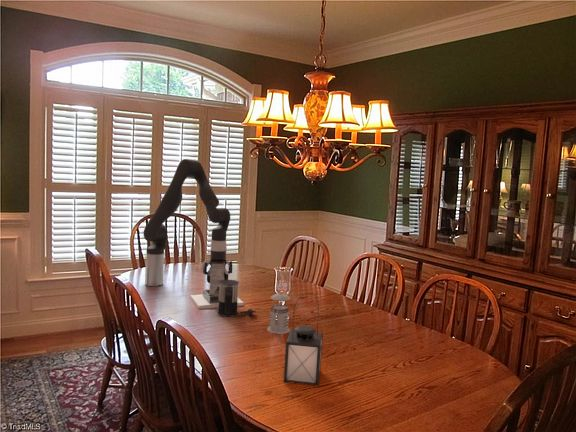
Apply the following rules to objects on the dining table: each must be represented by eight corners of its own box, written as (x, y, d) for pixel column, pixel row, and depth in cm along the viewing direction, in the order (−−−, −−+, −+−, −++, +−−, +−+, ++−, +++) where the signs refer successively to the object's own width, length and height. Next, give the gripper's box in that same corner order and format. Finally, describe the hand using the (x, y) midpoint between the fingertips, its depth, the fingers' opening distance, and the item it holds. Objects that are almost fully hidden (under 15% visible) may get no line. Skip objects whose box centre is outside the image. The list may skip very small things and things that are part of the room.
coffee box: (211, 289, 234) (213, 258, 232) (224, 290, 234) (226, 259, 232) (208, 295, 225) (210, 262, 223) (222, 295, 225) (224, 263, 223)
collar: (209, 303, 221) (209, 297, 221) (202, 295, 234) (202, 289, 233) (230, 302, 226) (231, 295, 225) (223, 294, 238) (223, 288, 238)
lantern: (283, 382, 148) (288, 296, 145) (287, 367, 159) (292, 287, 156) (318, 386, 147) (324, 299, 144) (320, 371, 158) (326, 290, 155)
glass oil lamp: (293, 327, 199) (296, 269, 196) (285, 336, 188) (289, 275, 185) (271, 324, 202) (274, 267, 199) (262, 333, 190) (265, 272, 188)
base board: (198, 308, 217) (198, 305, 217) (190, 298, 233) (190, 295, 233) (243, 305, 226) (243, 302, 226) (232, 295, 242) (232, 292, 242)
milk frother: (214, 311, 215) (215, 279, 213) (246, 308, 222) (248, 277, 220) (224, 321, 202) (226, 287, 201) (258, 317, 209) (260, 285, 208)
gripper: (230, 247, 233) (229, 279, 235) (202, 248, 227) (201, 281, 229) (235, 250, 226) (233, 283, 228) (205, 251, 221) (204, 285, 222)
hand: (217, 282), depth 229 cm, fingers closed on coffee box, 8 cm apart
